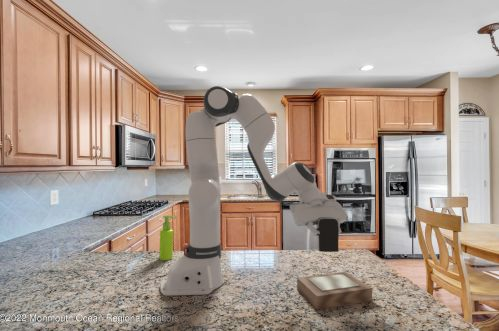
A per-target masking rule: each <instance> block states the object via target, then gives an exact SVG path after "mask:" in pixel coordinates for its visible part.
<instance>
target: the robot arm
mask: <svg viewBox="0 0 499 331" xmlns="http://www.w3.org/2000/svg"><path fill="white" fill-rule="evenodd" d="M202 102H203V108H202V109H201V110H195V111H192V112H191V113H189V114H188V115H187V116H186V121H185V130H184V131H185V132H184V134H185V147H186V156H187V157H186V159H187V164H188V170H189V174H190V175H189V176H190V181H191V182H190V183H191V185H190V186H189V188H188V208H189V209H188V210H189V211H188V212H189V214H188V215H189V244H188V243H186V242H185V243H183V244H182V249H183V255H182V256H180V257H179V258H178V259H177V260H176V261H175V262H173V263H172V264H171V265H170V266H169V268H168V272H167V275H166V276H165V277H164V278H163V279H162V280H161V282H160V287H159V289H160V290H159V291H160V293H161V295H163V296H166V297H167V296H168V297H169V296H195V295H196V296H197V295H198V296H199V295H201V296H203V295H210V294H211V293H212V292H213V291H214V290H216V289H218V288H220V287H222V285H223V284H224V283H225V280H224V276H223V271H222V265H221V258H222V243H221V182H220V171H219V162H218V153H217V152H218V151H217V143H216V142H217V141H216V140H217V139H216V131H215V130H216V127H219V126H222V125H224V124H227V123H228V122H229V121H230V120H232V119H234V120H235V121H237V123H239V124H240V126H241V127H242V129H243V130H244V131H245V133H246V135H247V139H248V143H247V146H246V147H247V151H248V154H249V156H250V158H251V161H252V163H253V166H254V167H255V169H256V171H257V172H256V173H258V176H259V178H260V180H261V182H262V185H263V187H264V190H265V193H266V195H267V196H268V198H269V199H270V200H271V201H275V202H282V201H284V200H286V199H287V198H288V197H289V196H290V195H293V193H296V194H297V195H298V201H299V202H292V203H291V204H289V209H290V212H291V213H292V215H291V216H292V219H293V223H294V224H295V225H296V226H297V227H306V228H307V229H308V230H309V231H310V232H312V234H313V236H314V237H316V236H317V237H318V235H319V234H320V232H319V230H318V229H317V227H315V226H317V220H318V219H319V218H322V217H330V218H335V219H336V220H337V221H338V227H339V234H341V233H342V229H341V227H340V226H341V224H343V223H344V222H346V220H347V217H348V215H347V213H346V211H345V209H344V207H343V206H342V205H341V204H340V203H339V202H338V201H337V200H338V199H337V197H336V195H333V194H328V193H326V192H322V191H321V190H320V189H319V187H317V186H318V185H317V182H316V181H315V177H314V175H313V173H312V171H311V169H310V168H309V167H308V165H306V164H305V163H303V162H299V161H295V162H293V163H291V164H289V165H288V166H286V167H285V168H283V169H282V170H280V171H279V172H278V173H276V174H275V175H273V174H272V173H271V171H270V168H269V167H268V165H267V163H266V160H265V158H264V153H265V149H266V148H267V146H268V145H269V143H270V142H271V139H272V138H273V137H274V135H275V130H276V125H275V122H274V120H273V119H272V117H271V115H270V113H269V112H268V110H267V109H266V108H265V107H264V106H263V105H262V104H261V102H260V101H259V100H258V99H257V97H255V96H253V95H252V94H249V93H246V94H245V93H244V94H242V95H240V96H238V93H235V92H233V91H231V90H229V89H228V88H226V87H224V86H220V85H215V86H212V87H210V88H209V89H207V90H206V92H205V93H204V97H203V101H202Z"/></svg>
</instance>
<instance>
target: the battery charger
mask: <svg viewBox="0 0 499 331" xmlns="http://www.w3.org/2000/svg"><path fill="white" fill-rule="evenodd" d="M316 229H318V230H319V232H320V234H319V235H318V236H317V250H318V252H322V253H335V252H336V253H337V252H339V250H340V249H339V227H338V221H337V220H336V219H335V218H330V217H322V218H319V219H318V220H317V225H316Z"/></svg>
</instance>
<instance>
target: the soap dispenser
mask: <svg viewBox="0 0 499 331" xmlns="http://www.w3.org/2000/svg"><path fill="white" fill-rule="evenodd" d="M162 218H164V222H162V229H161V230H159V254H158V255H159V256H158V257H159V260H160V261H169V260H172V259H173V255H174V253H173V252H174V251H173V250H174V249H173V248H174V246H173V244H174V230H173V229H171V222H169V221H170V220H169V219H175V218H176V216H174V215H164V216H162Z"/></svg>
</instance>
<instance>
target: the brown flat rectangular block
mask: <svg viewBox="0 0 499 331" xmlns="http://www.w3.org/2000/svg"><path fill="white" fill-rule="evenodd" d="M296 280H297V281H296V282H297V283H296V290H297V291H298V292H299V293H300V294H301V295H302V296H303V297H304V298H305V299H306V300H307V301H308V302H309V303H310V304H311V305H312V307H314V308H315V309H316V310H323V309H329V308H336V307H341V306H348V305H355V304H359V303H360V304H361V303H365V302H371V301H373V288H372V287H371V286H370V285H368V284H366V283H364V282H363V281H362V280H360V279H358V278H356V277H355V276H353V275H352V274H350V273H348V272H347V271H343V272H334V273H328V274H327V273H326V274H318V275H316V274H315V275H309V276H299V277H297V278H296Z"/></svg>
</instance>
